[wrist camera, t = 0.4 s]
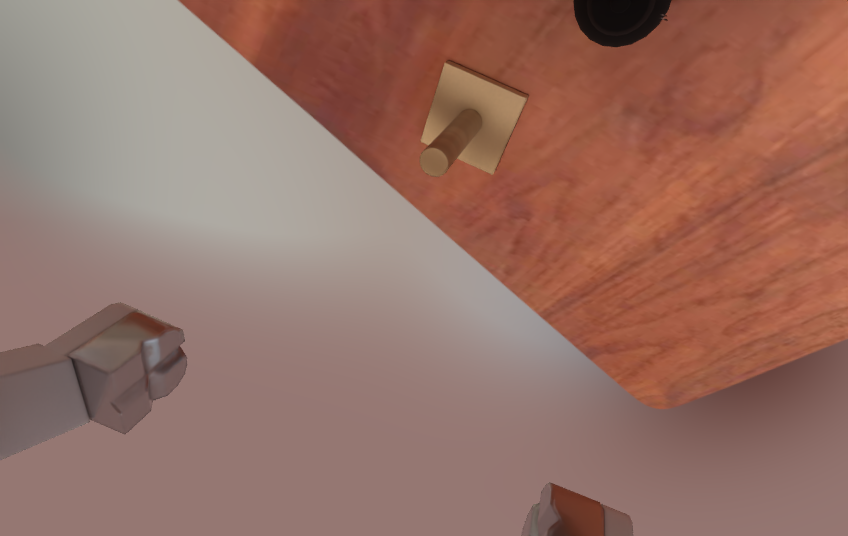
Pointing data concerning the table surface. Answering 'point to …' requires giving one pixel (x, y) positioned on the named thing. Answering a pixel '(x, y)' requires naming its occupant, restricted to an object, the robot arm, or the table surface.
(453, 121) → the stand
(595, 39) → the black rounded figure
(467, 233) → the table surface
